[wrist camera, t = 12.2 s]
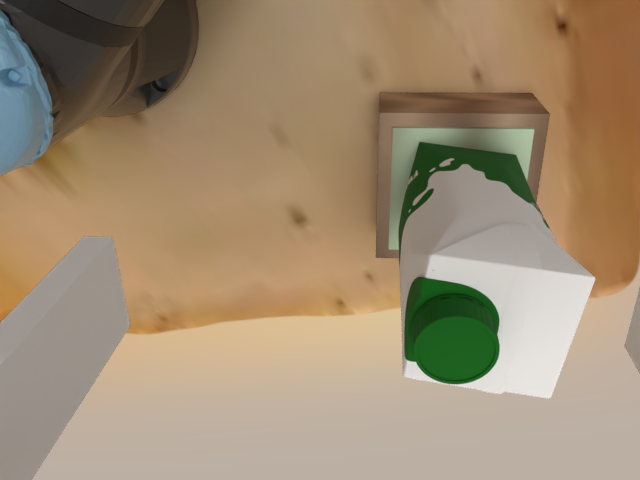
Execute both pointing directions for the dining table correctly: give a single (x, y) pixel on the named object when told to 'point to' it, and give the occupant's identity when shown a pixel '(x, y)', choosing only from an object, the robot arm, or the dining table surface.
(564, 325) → the soya milk
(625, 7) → the dining table surface
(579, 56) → the dining table surface
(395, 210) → the step block
